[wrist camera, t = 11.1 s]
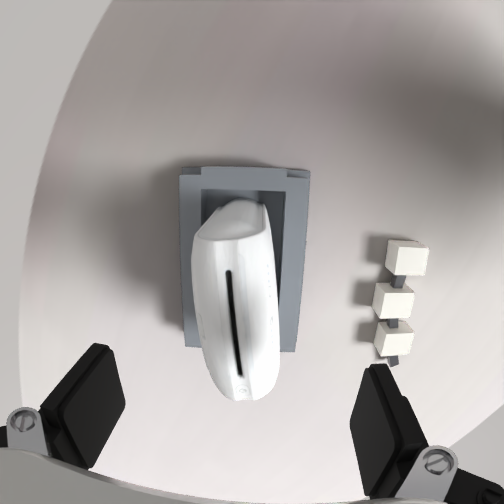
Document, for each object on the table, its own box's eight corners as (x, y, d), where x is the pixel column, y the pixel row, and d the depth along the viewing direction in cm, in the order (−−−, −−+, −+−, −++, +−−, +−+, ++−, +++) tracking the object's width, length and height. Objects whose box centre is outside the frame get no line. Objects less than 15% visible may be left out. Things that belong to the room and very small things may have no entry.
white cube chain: (420, 241, 26) (433, 248, 24) (395, 359, 29) (402, 372, 27) (382, 239, 26) (392, 246, 24) (359, 361, 29) (366, 375, 27)
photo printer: (276, 315, 27) (284, 416, 15) (227, 317, 28) (206, 418, 16) (269, 195, 25) (276, 226, 13) (214, 199, 25) (171, 234, 13)
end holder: (308, 169, 25) (315, 170, 22) (295, 338, 29) (298, 357, 26) (184, 166, 25) (174, 166, 22) (188, 333, 29) (181, 351, 26)
